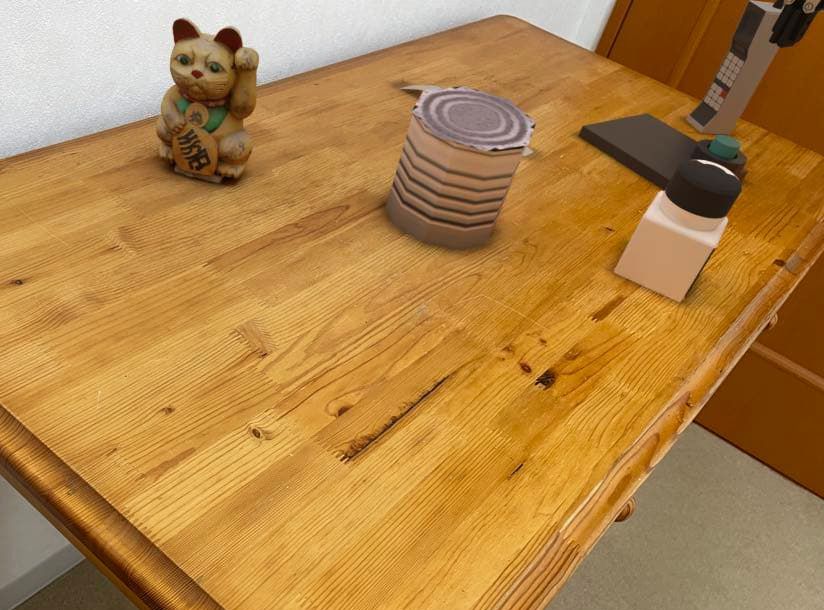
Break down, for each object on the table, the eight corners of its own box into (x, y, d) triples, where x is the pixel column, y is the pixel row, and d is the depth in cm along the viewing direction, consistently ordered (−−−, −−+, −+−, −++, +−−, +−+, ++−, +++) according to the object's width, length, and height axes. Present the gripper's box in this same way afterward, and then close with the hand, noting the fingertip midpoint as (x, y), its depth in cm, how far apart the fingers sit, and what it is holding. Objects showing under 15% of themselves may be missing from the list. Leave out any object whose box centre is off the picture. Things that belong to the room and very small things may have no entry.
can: (514, 245, 86) (560, 136, 78) (426, 262, 81) (466, 146, 73) (447, 187, 93) (484, 81, 85) (362, 199, 88) (393, 87, 79)
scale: (741, 184, 107) (756, 159, 105) (677, 203, 100) (692, 176, 98) (641, 126, 116) (653, 101, 113) (576, 139, 109) (587, 113, 106)
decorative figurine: (146, 176, 83) (157, 20, 73) (164, 139, 90) (176, -9, 79) (243, 197, 84) (266, 44, 74) (253, 158, 90) (277, 13, 80)
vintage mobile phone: (684, 123, 119) (786, -72, 102) (713, 125, 121) (818, -67, 104) (699, 136, 117) (806, -62, 100) (728, 137, 118) (838, -57, 101)
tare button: (738, 158, 105) (746, 145, 104) (724, 162, 104) (732, 148, 102) (717, 146, 107) (724, 133, 106) (703, 149, 105) (710, 136, 104)
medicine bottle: (679, 307, 83) (746, 199, 75) (611, 276, 85) (668, 168, 77) (693, 276, 88) (757, 172, 80) (628, 248, 90) (684, 143, 82)
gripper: (978, -117, 82) (856, 70, 94) (838, -163, 89) (742, 15, 102) (946, -119, 78) (823, 76, 90) (803, -167, 86) (708, 19, 98)
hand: (781, 43), depth 96 cm, fingers closed
